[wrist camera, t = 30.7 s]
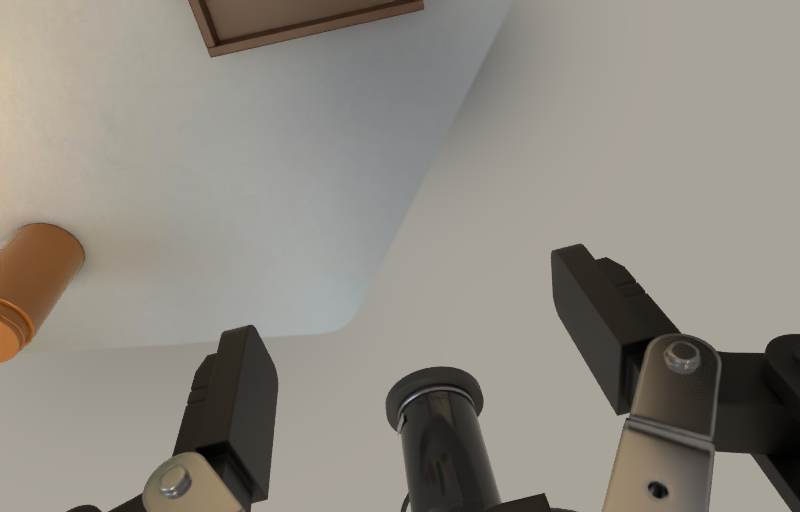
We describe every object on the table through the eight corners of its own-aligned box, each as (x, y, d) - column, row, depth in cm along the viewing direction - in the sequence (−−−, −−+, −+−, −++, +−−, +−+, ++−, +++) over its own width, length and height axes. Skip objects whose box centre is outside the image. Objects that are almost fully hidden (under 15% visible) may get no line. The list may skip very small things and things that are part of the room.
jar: (98, 253, 43) (41, 341, 34) (58, 285, 44) (-7, 377, 35) (39, 211, 40) (-38, 295, 31) (-2, 246, 41) (-87, 336, 33)
